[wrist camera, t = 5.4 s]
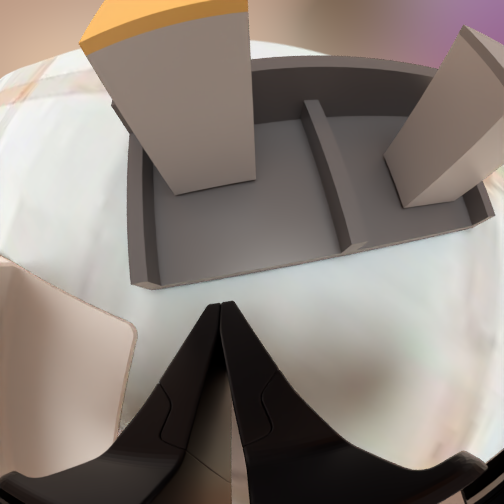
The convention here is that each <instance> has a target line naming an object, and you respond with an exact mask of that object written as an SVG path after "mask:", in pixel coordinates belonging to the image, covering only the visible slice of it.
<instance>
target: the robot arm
mask: <svg viewBox="0 0 504 504" xmlns="http://www.w3.org/2000/svg"><path fill="white" fill-rule="evenodd" d="M232 401H233V406H234V411H235V416H236V421H237V425H238V430H239V434H240V439H241V443H242V447H243V452H244V457H245V462H246V468H247V477H248V488H249V499H250V504H504V448H503V449H502V450H501V451H500V452H499V453H497V454H496V455H495V456H494V457H492V458H491V459H490V460H489V461H487V462H486V463H484V462H483V461H482V460H481V459H479V458H477V457H475V456H474V455H472V454H470V453H468V452H466V451H461V452H459V453H457V454H455V455H454V456H452V457H450V458H449V459H447V460H445V461H443V462H442V463H440V464H438V465H436V466H434V467H432V468H429V469H424V470H412V469H408V468H404V467H402V466H399V465H397V464H395V463H392V462H390V461H387V460H385V459H383V458H380V457H378V456H376V455H374V454H372V453H369V452H367V451H365V450H363V449H361V448H359V447H357V446H355V445H353V444H351V443H350V442H348V441H347V440H345V439H344V438H343V437H342V436H340V435H339V434H338V433H337V432H336V431H335V430H334V429H332V428H331V427H330V426H329V425H328V424H327V423H326V422H325V421H324V420H323V419H322V418H321V417H320V416H319V415H318V414H317V413H316V412H315V411H314V410H313V409H312V408H311V407H310V406H309V405H308V404H307V403H306V402H305V401H304V400H303V399H302V398H301V397H300V395H299V394H298V393H297V392H296V391H295V390H294V388H293V387H292V386H291V385H290V383H289V382H288V381H287V379H286V378H285V376H284V375H283V374H282V372H281V371H280V370H279V368H278V367H277V365H276V364H275V362H274V361H273V359H272V358H271V356H270V355H269V353H268V352H267V350H266V349H265V347H264V346H263V344H262V343H261V341H260V340H259V338H258V337H257V335H256V334H255V332H254V331H253V329H252V328H251V326H250V325H249V323H248V322H247V320H246V319H245V317H244V316H243V314H242V313H241V311H240V310H239V308H238V306H237V305H236V303H235V302H234V301H228V302H223V303H222V304H220V303H215V304H209V305H208V306H207V307H206V309H205V310H204V312H203V313H202V315H201V316H200V318H199V320H198V321H197V323H196V324H195V326H194V327H193V329H192V331H191V332H190V334H189V335H188V337H187V338H186V340H185V341H184V343H183V345H182V346H181V348H180V349H179V351H178V352H177V354H176V356H175V357H174V359H173V360H172V362H171V363H170V365H169V367H168V368H167V370H166V371H165V373H164V375H163V376H162V378H161V379H160V381H159V383H158V384H157V385H156V387H155V389H154V390H153V392H152V393H151V395H150V396H149V398H148V399H147V401H146V402H145V404H144V405H143V406H142V408H141V409H140V410H139V412H138V413H137V414H136V416H135V417H134V418H133V419H132V421H131V422H130V423H129V424H128V426H127V427H126V428H125V429H124V431H123V432H122V433H121V434H120V435H119V437H118V438H117V439H116V440H115V442H114V443H113V444H112V445H111V446H110V447H109V448H108V449H107V450H106V451H105V452H104V453H103V454H101V455H100V456H98V457H97V458H95V459H93V460H90V461H88V462H85V463H82V464H80V465H77V466H74V467H72V468H69V469H66V470H63V471H60V472H57V473H54V474H51V475H48V476H44V477H38V478H32V477H27V476H25V475H23V474H21V473H19V472H17V471H11V472H9V473H6V474H5V475H3V476H1V477H0V504H232V497H231V407H232Z"/></svg>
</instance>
